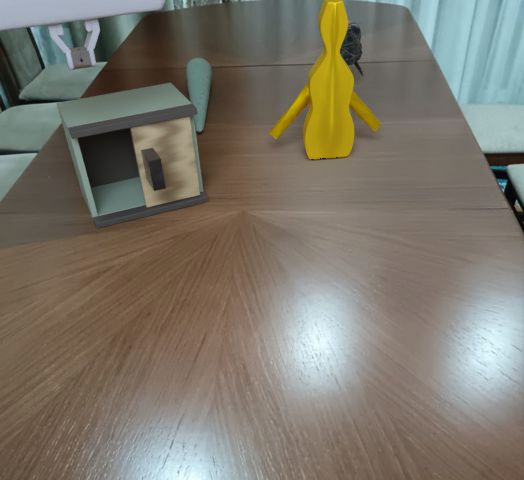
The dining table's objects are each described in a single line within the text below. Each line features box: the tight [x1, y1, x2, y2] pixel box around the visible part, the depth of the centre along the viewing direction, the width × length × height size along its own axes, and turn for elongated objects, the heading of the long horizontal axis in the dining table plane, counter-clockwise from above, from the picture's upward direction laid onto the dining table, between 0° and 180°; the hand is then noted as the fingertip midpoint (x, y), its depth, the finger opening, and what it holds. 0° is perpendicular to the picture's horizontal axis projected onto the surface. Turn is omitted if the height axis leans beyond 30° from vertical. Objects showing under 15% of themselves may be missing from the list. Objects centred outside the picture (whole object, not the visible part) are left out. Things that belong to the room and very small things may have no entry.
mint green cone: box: [185, 57, 213, 132], centre depth 108 cm, size 5×6×27 cm
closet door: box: [130, 116, 200, 207], centre depth 75 cm, size 8×5×11 cm, turn 113°
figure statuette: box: [268, 0, 382, 160], centre depth 84 cm, size 18×8×22 cm, turn 95°
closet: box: [56, 82, 209, 229], centre depth 79 cm, size 16×12×13 cm
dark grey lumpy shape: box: [340, 20, 365, 77], centre depth 108 cm, size 8×11×20 cm
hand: (82, 67), depth 62 cm, fingers closed
